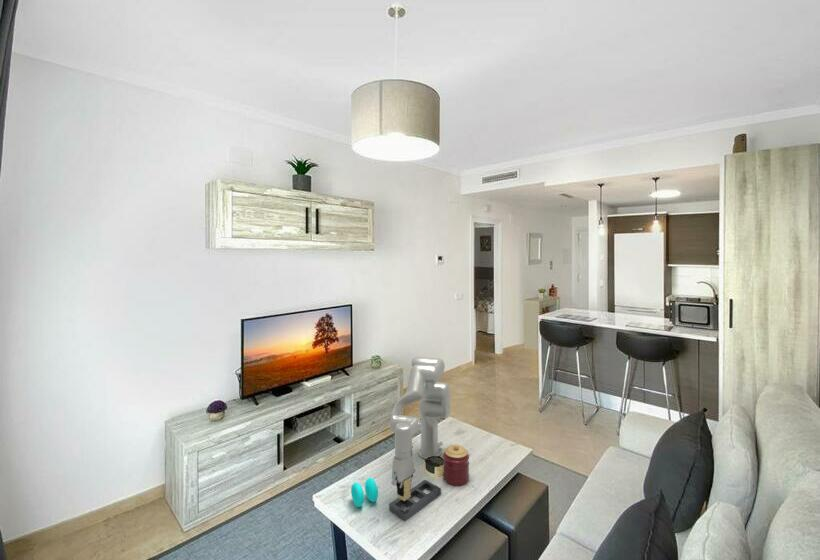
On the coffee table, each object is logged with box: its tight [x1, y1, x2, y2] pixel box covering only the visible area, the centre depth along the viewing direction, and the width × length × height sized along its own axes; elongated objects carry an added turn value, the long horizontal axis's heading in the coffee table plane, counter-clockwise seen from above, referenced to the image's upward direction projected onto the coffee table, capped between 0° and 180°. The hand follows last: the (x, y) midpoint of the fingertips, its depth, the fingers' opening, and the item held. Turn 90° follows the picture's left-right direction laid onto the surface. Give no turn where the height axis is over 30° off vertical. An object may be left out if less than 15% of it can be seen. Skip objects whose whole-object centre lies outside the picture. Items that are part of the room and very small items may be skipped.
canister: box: [442, 444, 470, 487], centre depth 185 cm, size 13×13×18 cm
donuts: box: [350, 477, 379, 508], centre depth 169 cm, size 10×10×10 cm
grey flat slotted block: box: [388, 479, 442, 522], centre depth 169 cm, size 24×10×3 cm, turn 136°
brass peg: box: [397, 477, 411, 501], centre depth 162 cm, size 4×4×9 cm
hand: (404, 492), depth 163 cm, fingers closed on brass peg, 4 cm apart
